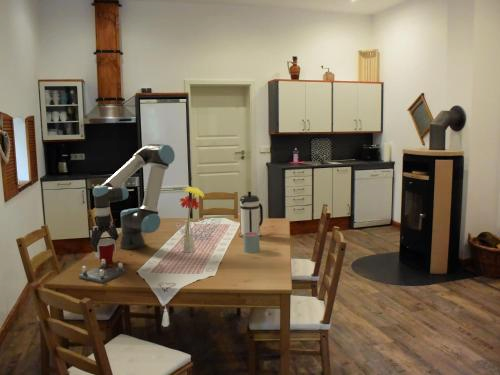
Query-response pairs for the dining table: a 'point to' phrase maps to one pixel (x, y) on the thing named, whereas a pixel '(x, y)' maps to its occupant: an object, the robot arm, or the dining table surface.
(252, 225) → the coffee press
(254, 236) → the mug
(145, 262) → the dining table surface
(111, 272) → the chassis
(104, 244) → the plastic cup
